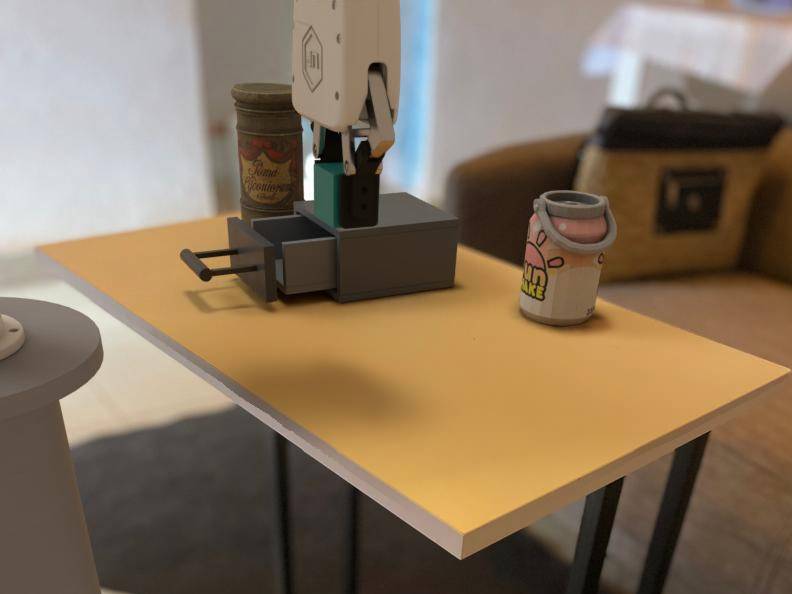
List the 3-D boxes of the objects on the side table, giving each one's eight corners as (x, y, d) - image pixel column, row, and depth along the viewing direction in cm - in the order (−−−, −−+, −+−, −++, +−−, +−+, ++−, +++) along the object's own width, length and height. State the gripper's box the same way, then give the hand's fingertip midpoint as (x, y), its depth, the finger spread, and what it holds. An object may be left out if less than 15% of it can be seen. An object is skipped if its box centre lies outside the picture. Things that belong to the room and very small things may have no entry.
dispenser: (339, 303, 91) (339, 231, 86) (295, 268, 100) (293, 201, 95) (454, 286, 97) (459, 218, 92) (403, 255, 106) (405, 191, 101)
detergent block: (333, 229, 66) (333, 175, 64) (313, 215, 69) (313, 163, 66) (378, 225, 68) (380, 172, 65) (357, 212, 70) (358, 161, 68)
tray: (208, 311, 85) (203, 253, 82) (177, 276, 93) (170, 222, 90) (381, 287, 93) (382, 233, 90) (338, 257, 101) (338, 207, 98)
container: (243, 234, 110) (232, 79, 99) (311, 237, 110) (308, 83, 100) (234, 255, 103) (222, 90, 92) (308, 258, 103) (304, 94, 93)
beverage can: (613, 328, 88) (636, 209, 81) (542, 335, 86) (559, 213, 79) (571, 298, 95) (589, 186, 88) (504, 303, 93) (517, 189, 86)
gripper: (255, -64, 62) (266, 196, 72) (350, -56, 50) (346, 253, 61) (348, -58, 65) (345, 191, 76) (458, -49, 53) (436, 244, 64)
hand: (345, 216), depth 68 cm, fingers closed on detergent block, 4 cm apart
